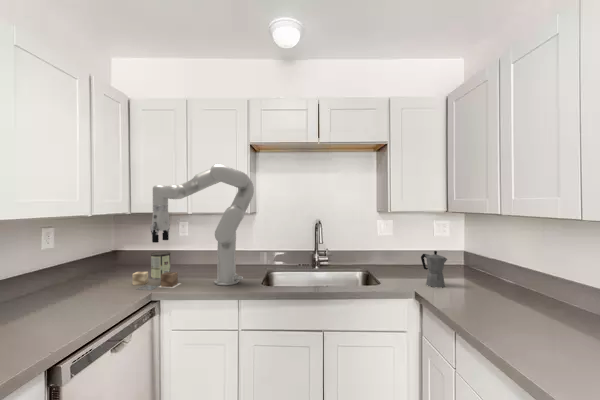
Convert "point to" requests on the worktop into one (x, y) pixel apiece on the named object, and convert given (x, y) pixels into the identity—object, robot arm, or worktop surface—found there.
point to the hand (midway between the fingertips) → (160, 241)
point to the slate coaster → (147, 287)
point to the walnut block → (169, 279)
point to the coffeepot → (434, 269)
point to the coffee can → (159, 264)
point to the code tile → (171, 287)
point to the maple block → (140, 278)
